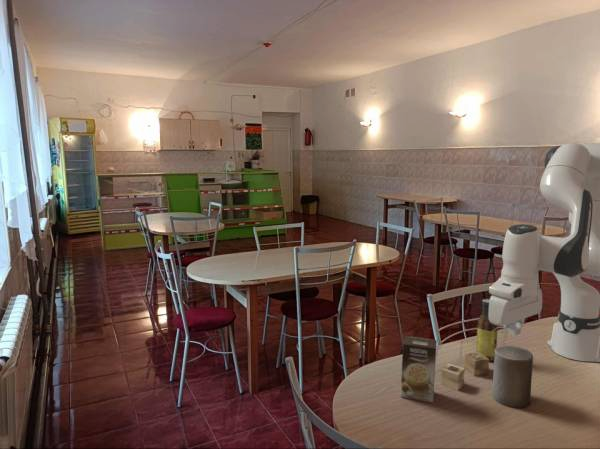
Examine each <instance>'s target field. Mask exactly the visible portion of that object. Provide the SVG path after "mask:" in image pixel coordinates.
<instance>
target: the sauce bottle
mask: <svg viewBox="0 0 600 449" xmlns="http://www.w3.org/2000/svg"><path fill="white" fill-rule="evenodd" d="M489 301H490V298H489V299H488V298H485V299H482V300H481V306H482V307H481V308H482V309H481V314H480V316H479V317H478V320H477V326H476V327H477V329H476V351H475V353H481V354H482V355H484V356H485V357H487V358H488V359H489V362H492V361H493V362H494V355H495V348H496V347H498V346H497V345H498V329H499V326H497V325H494V324H492V323H490V321H489Z"/></svg>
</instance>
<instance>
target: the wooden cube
mask: <svg viewBox="0 0 600 449" xmlns="http://www.w3.org/2000/svg"><path fill="white" fill-rule="evenodd" d="M489 365H490V361H489V359H488V358H487V357H485V356H484V355H482V354H481V353H477V352H471V353H465V355H464V368H465V370H466V371H467V372H468V373H469V374H471V375H472V376H473V377H476V376H484V375H485V376H486V375H489V370H490V366H489Z"/></svg>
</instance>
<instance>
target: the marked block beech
mask: <svg viewBox="0 0 600 449" xmlns="http://www.w3.org/2000/svg"><path fill="white" fill-rule="evenodd" d="M465 370H466V369H465V367H461V366H457V365H454V364H451V363H447V364H446V365H445V366H444V367H443V368H441V373H440V375H441V377H440V386H442V387H446V388H449V389H452V390H454V391H457V392H458V391H459V390H460V389H461V388H462V387H463V386H464V385H465V374H466V373H465V372H466V371H465Z"/></svg>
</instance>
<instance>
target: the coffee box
mask: <svg viewBox="0 0 600 449" xmlns="http://www.w3.org/2000/svg"><path fill="white" fill-rule="evenodd" d="M436 355H437V340H436V339H433V338H431V339H430V338H427V337H419V336H412V335H406V334H405V335H404V338H403V342H402V355H401V356H402V358H401V359H402V360H401V380H400V395H399V396H400V397H402V398H407V399H410V400H412V399H413V400H416V401H422V402H428V403H434V392H435V391H434V390H435V374H436V360H437V359H436V358H437V357H436Z"/></svg>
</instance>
